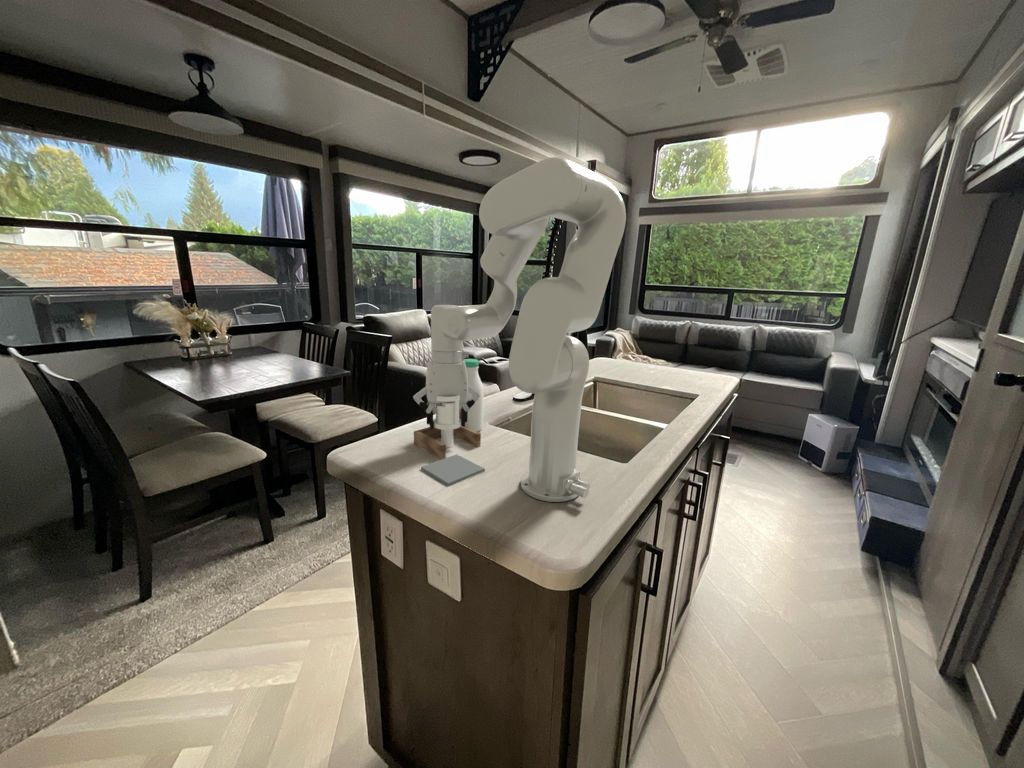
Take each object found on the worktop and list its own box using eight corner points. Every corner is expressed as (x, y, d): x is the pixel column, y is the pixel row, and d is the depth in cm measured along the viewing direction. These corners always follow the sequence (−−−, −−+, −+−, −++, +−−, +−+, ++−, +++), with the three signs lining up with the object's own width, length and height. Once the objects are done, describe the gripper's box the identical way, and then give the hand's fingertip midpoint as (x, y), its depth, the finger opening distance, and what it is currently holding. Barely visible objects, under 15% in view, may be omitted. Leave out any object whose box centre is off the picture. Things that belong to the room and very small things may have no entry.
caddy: (480, 446, 103) (480, 433, 102) (442, 459, 94) (442, 445, 93) (451, 432, 111) (451, 421, 110) (413, 444, 102) (413, 431, 101)
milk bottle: (484, 424, 118) (486, 358, 113) (480, 434, 110) (481, 363, 105) (459, 423, 119) (459, 356, 114) (452, 432, 111) (453, 361, 106)
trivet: (484, 471, 89) (484, 468, 89) (448, 485, 82) (448, 483, 82) (456, 456, 96) (456, 454, 96) (421, 469, 89) (421, 466, 89)
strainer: (466, 444, 103) (467, 388, 100) (447, 453, 98) (447, 394, 94) (446, 437, 107) (446, 383, 103) (427, 445, 101) (426, 388, 98)
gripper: (479, 353, 103) (478, 419, 107) (409, 354, 98) (411, 422, 102) (485, 359, 96) (484, 429, 100) (410, 360, 91) (412, 433, 95)
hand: (447, 425), depth 101 cm, fingers open, 7 cm apart
